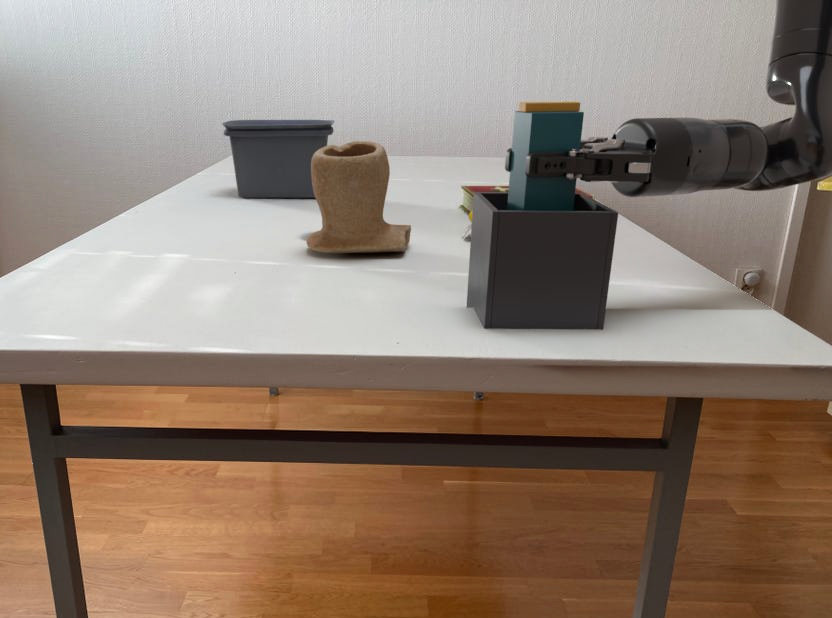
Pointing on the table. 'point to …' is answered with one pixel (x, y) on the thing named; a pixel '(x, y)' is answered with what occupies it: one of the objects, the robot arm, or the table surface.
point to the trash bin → (540, 264)
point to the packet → (543, 133)
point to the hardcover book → (469, 191)
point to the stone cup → (354, 200)
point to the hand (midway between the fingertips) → (518, 162)
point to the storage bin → (275, 155)
